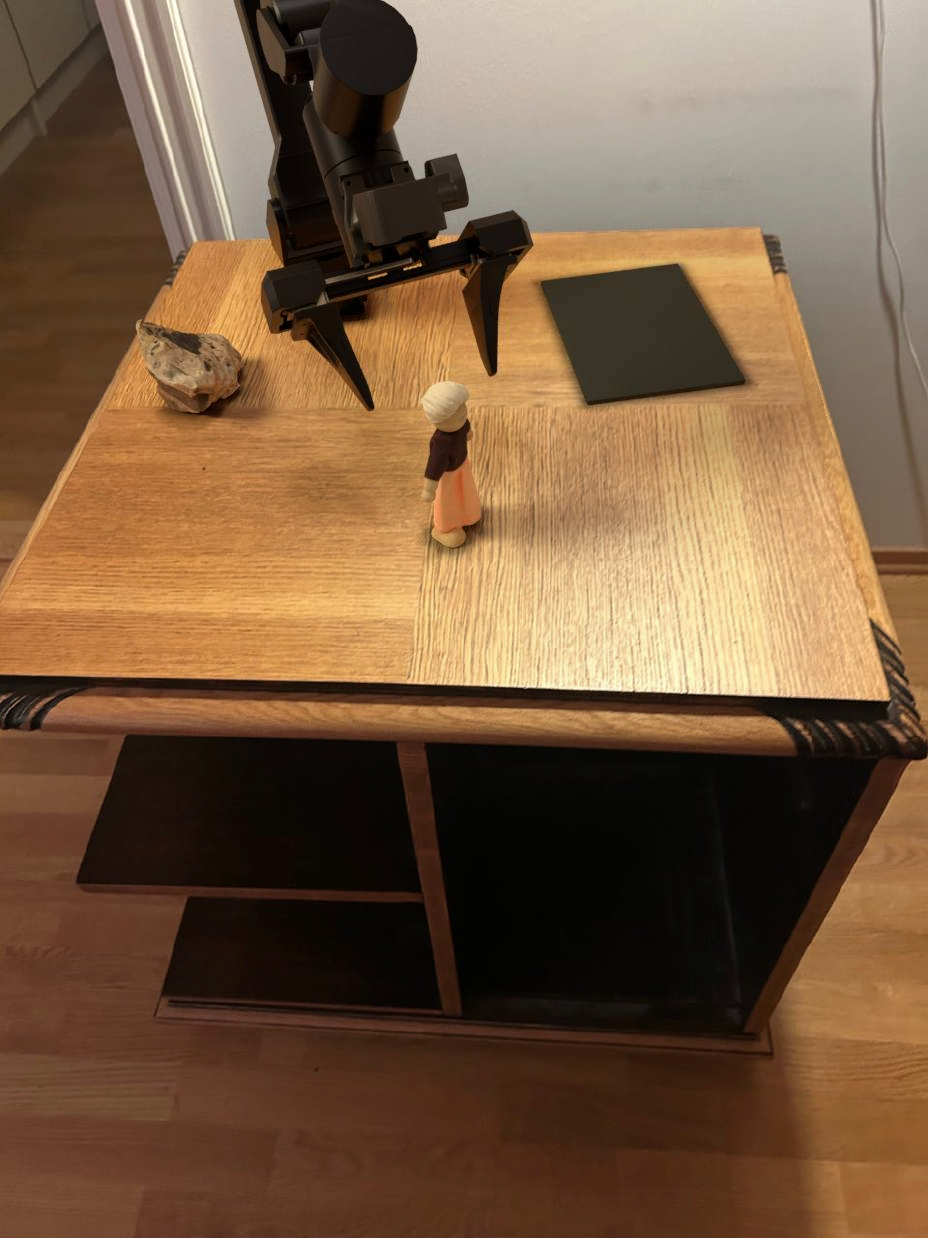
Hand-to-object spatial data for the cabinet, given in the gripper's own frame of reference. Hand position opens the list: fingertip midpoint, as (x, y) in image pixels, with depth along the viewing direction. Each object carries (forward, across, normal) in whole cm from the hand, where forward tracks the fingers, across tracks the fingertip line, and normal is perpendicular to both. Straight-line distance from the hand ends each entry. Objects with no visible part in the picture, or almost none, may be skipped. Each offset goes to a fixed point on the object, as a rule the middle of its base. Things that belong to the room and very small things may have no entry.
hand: (433, 392), depth 65 cm
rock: (-9, -14, +23) cm, 28 cm away
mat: (-3, +25, +17) cm, 30 cm away
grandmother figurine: (+9, 0, +5) cm, 11 cm away
